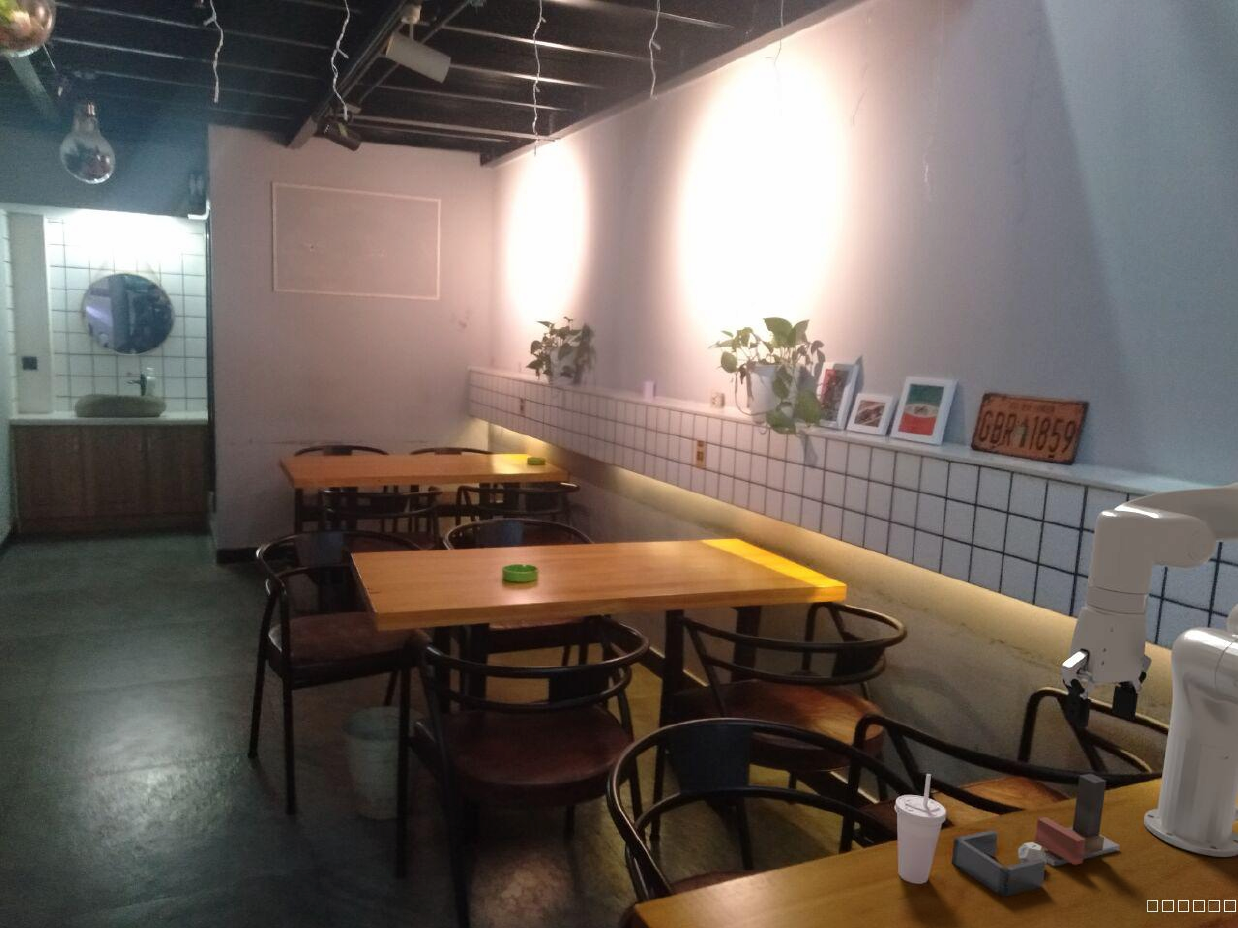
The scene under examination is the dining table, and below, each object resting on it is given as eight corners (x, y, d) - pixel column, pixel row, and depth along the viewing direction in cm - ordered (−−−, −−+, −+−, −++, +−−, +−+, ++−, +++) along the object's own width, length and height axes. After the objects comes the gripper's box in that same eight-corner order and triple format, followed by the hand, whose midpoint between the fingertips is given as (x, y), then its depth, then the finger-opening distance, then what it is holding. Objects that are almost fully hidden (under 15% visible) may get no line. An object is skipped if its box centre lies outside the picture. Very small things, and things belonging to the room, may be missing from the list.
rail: (1103, 841, 133) (1104, 836, 133) (1118, 850, 131) (1119, 844, 131) (1038, 857, 127) (1039, 852, 127) (1053, 866, 125) (1054, 860, 125)
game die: (1011, 864, 125) (1014, 843, 125) (1025, 856, 128) (1027, 836, 127) (1036, 876, 123) (1039, 855, 122) (1050, 868, 125) (1052, 847, 125)
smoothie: (941, 893, 117) (953, 788, 115) (889, 884, 118) (901, 780, 116) (934, 867, 123) (946, 767, 121) (885, 858, 124) (896, 760, 123)
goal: (990, 853, 128) (993, 829, 127) (1042, 886, 120) (1045, 861, 120) (951, 862, 124) (954, 837, 124) (1002, 897, 117) (1005, 871, 116)
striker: (1071, 832, 133) (1080, 767, 132) (1111, 855, 127) (1120, 786, 126) (1034, 841, 130) (1043, 774, 129) (1074, 864, 124) (1083, 794, 123)
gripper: (1131, 591, 133) (1115, 704, 135) (1049, 595, 125) (1033, 715, 127) (1182, 605, 126) (1165, 724, 128) (1098, 610, 119) (1081, 737, 120)
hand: (1099, 719), depth 128 cm, fingers open, 9 cm apart
